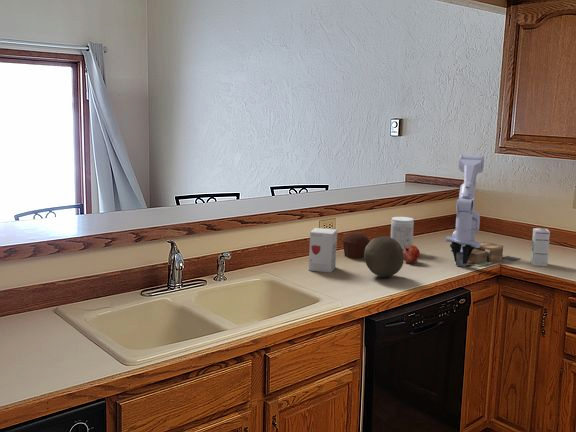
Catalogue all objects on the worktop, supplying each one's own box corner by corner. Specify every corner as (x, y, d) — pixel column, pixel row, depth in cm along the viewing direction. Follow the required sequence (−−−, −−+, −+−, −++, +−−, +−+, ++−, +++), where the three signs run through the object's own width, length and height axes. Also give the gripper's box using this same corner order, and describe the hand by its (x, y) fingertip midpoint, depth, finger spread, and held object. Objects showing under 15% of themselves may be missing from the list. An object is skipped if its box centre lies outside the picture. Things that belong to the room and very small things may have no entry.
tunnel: (471, 258, 259) (472, 244, 258) (482, 255, 265) (483, 241, 264) (491, 262, 253) (492, 248, 252) (502, 259, 259) (503, 245, 258)
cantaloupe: (369, 270, 235) (371, 231, 233) (406, 275, 230) (408, 235, 227) (358, 279, 222) (360, 238, 220) (397, 284, 217) (400, 243, 214)
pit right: (500, 258, 261) (500, 257, 261) (507, 256, 265) (507, 255, 265) (513, 261, 257) (514, 260, 257) (520, 258, 261) (520, 258, 261)
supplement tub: (393, 248, 274) (395, 215, 271) (414, 251, 270) (416, 217, 267) (386, 252, 265) (388, 218, 263) (408, 255, 261) (410, 221, 259)
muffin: (374, 256, 257) (375, 233, 256) (357, 260, 250) (358, 236, 248) (352, 251, 266) (353, 228, 264) (335, 255, 258) (336, 231, 256)
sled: (452, 264, 246) (453, 252, 245) (474, 258, 257) (475, 246, 257) (465, 267, 242) (466, 254, 242) (486, 261, 254) (487, 249, 253)
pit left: (481, 254, 267) (481, 253, 267) (488, 252, 271) (488, 251, 271) (493, 256, 263) (494, 256, 263) (500, 254, 267) (501, 254, 267)
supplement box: (307, 270, 233) (309, 231, 230) (313, 265, 241) (314, 227, 239) (331, 272, 230) (333, 233, 228) (336, 267, 239) (337, 229, 236)
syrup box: (547, 266, 249) (551, 231, 246) (532, 265, 250) (535, 230, 247) (544, 263, 254) (548, 228, 252) (529, 262, 256) (532, 227, 253)
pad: (457, 261, 253) (457, 261, 253) (469, 258, 259) (469, 258, 259) (479, 266, 246) (479, 266, 246) (491, 263, 252) (491, 262, 252)
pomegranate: (408, 265, 254) (393, 252, 250) (419, 251, 255) (404, 237, 250) (418, 271, 248) (403, 258, 243) (429, 257, 248) (414, 243, 243)
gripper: (441, 226, 245) (439, 260, 247) (474, 232, 235) (472, 267, 237) (451, 224, 250) (449, 257, 252) (484, 230, 240) (481, 264, 242)
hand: (460, 262), depth 245 cm, fingers closed on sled, 3 cm apart
